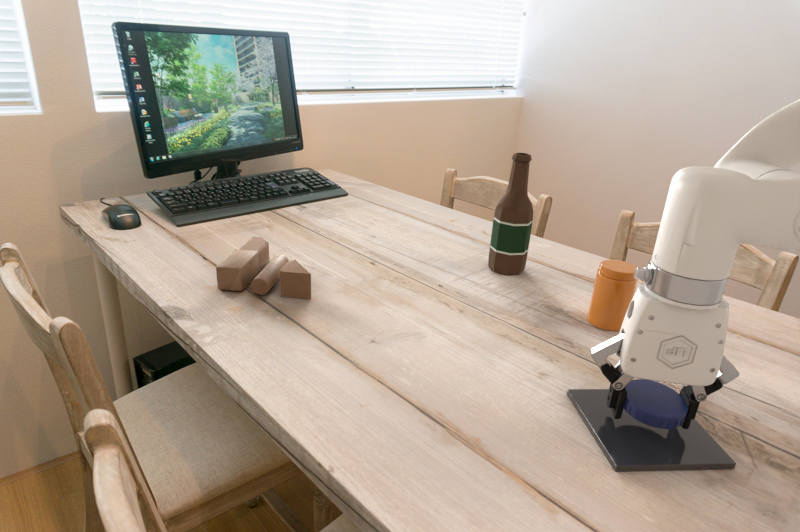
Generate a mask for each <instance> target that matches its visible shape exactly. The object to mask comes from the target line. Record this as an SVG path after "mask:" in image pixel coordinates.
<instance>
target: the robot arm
mask: <svg viewBox="0 0 800 532" xmlns="http://www.w3.org/2000/svg"><path fill="white" fill-rule="evenodd" d="M799 164H800V98H798V99H797V100H795V101H792V102H791V103H789V104H787V105H785V106H783V107H782V108H780V109H778V110H776V111H774V112H773V113H771V114H769V115H768V116H766V117H765V118H764V119H762V120H760V121H759V122H757V124H755V125H754V126H753V127H752V128H751V129H749V130H748V131H747V132H746V133H745V134H744V135H743V136H742V137H741V138H740V139H739V140H737V141H736V142H735V144H734V145H732V146H731V148H729V149H728V150H727V151H726V153H725V154H724V155H722V157H720V159H718V161H717V162H716V163H715V165H714V166H706V165H705V166H704V165H703V166H702V165H692V166H691V165H690V166H686V167H682V168H680V169H678V170H677V171H676V172H675V173H674V174H673V176H672V178H671V180H670V184H669V188H668V190H667V196H666V200H665V204H664V208H663V212H662V216H661V220H660V224H659V228H658V231H657V235H656V240H655V245H654V248H653V251H652V257H651V259H649V260H648V264H647V265H646V266H643V267H637V268H636V269H635V272H634V278H635V279H637V280H639V281H641V282H644V283H640V284H639V285H638V287H637V288H636V290H635V293H634V296H633V299H632V301H631V303H630V305H629V307H628V310H627V312H626V315H625V318H624V320H623V323H622V326H621V329H620V331H619V332H618V334H617V335H615V336H613V337H611V338H609V339H607V340H605V341H603V342H601V343H599V344H597V345H595V346H592V347H591V348H590V350H589V352H590V356H591V359H592V360H593V362H594V363H595V364H596V366H597V368H598V369H599V370H600V371H601V373H602V375H603V376H604V377H605V379H607V380H608V382H609V388H608V389H609V392H608V396H607V406H608V408H611V410H612V414H613V417H614V419H619V418H621V416H622V412H623V406H624V403H625V400H626V397H627V391H626V388H625V386H626V385H627V384H628V383H629V382H630V381H631V380H634V379H645V380H651V381H655V382H658V383H667V384H673V385H674V384H675V385H682V387H681V388H680V391H679V394H680V395H681V396H682V397H683V398H684V400H685V402H686V404H687V406H688V411H687V416H686V418H685V421H684V422H683V423H682V425H681V427H682V428H683V429H689V426H690V423H691V419H692V420H694V419H695V420H696V416H697V413H698V409H699V406H700V404H701V403H703V402H705V401H706V400H707V398H708V396H710V395H712V394H714V393H715V392H717V391H719V390H721V389H723V386H724V385H727V384H729V383H730V382H732V381H733V380H735V379H737V378H738V377H739V376H740V372H739V370H738V369H737V368H736V366H735V365H734V364H733V363H732V362H731V361H730V360H729V359H728V358H727V357H726V356H725V355H724V352H725V346H726V341H727V335H728V327H729V317H730V316H729V315H730V305H729V302H728V301H727V300H726V299H724V298H723V297H724V294H725V291H726V288H727V284H728V281H729V277H730V275H731V272H732V268H733V265H734V261H735V259H736V256H737V252H738V249H739V246H741V245H748V246H749V245H750V246H756V247H757V246H758V247H760V248H761V247H762V248H768V249H772V250H776V251H785V252H799V251H800V172H797V171H793V170H792V169H794V168H795V167H797V166H798V165H799ZM614 354H616V356H617V357H619V361H617V362H616V364H615V365H613V364H612V363H611V362H610V360H609V359H608V357H610V356H612V355H614Z"/></svg>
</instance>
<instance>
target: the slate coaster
mask: <svg viewBox="0 0 800 532" xmlns="http://www.w3.org/2000/svg"><path fill="white" fill-rule="evenodd" d="M566 390H567V391H566V396H568V398H569V400H570V402H571V403H572V405H573V407H574V408H575V410H576V411H577V413H578V415H579V416H580V418H581V419H582V421H583V422H584V424H585V426H586V427H587V429H588V430H589V432H590V434H591V435H592V437H593V438H594V440H595V442H596V443H597V445H598V447H599V448H600V450H601V451H602V453H603V454H604V456H605V458H606V460H607V461H608V463H609V464H610V466H611V468H612V469H613V470H614V472H646V471H647V472H648V471H649V472H651V471H652V472H653V471H654V472H655V471H693V470H694V471H695V470H696V471H697V470H699V471H700V470H734V469H735V468H736V465H737V463H736V461H735V460H734V459H733V458H732V457H731V456H730V455H729V453H727V451H726V450H725V449H723V447H722V446H721V445H720V444H719V443H718V442H717V441H716V440H715V438H713V436H712V435H711V434H710V433H709V432H708V431H707V430H706V429H705V428H704V427H703V426H702V425H701V424H700V423H699V421H698V420H696V418H695V419H694V420H692V419H691V423H690V426H689V429H683V428H682V427H681V426H679V427H676V428H673V429H661V428H655V427H652V426H649V425H646V424H644V423H642V422H640V421H638V420H636V419H635V418H633V417H632V416H630V415H629V414H628V413H627V412H626V411H625V410H624V408H623V412H622V416H621V418H619V419H614V417H613V414H612V410H611V408H608V406H607V396H608V392H609V388H582V389H581V388H577V389H576V388H571V389H570V388H569V389H566Z"/></svg>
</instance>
